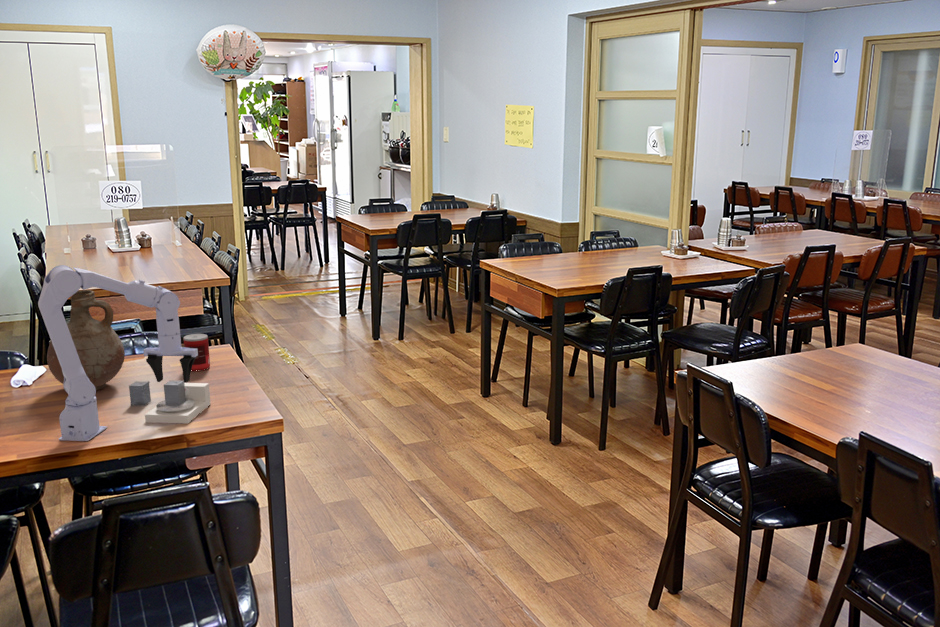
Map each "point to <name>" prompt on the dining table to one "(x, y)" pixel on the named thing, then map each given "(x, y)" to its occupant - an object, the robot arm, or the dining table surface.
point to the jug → (91, 341)
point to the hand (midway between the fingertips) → (173, 381)
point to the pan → (186, 405)
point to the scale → (202, 401)
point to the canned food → (199, 350)
